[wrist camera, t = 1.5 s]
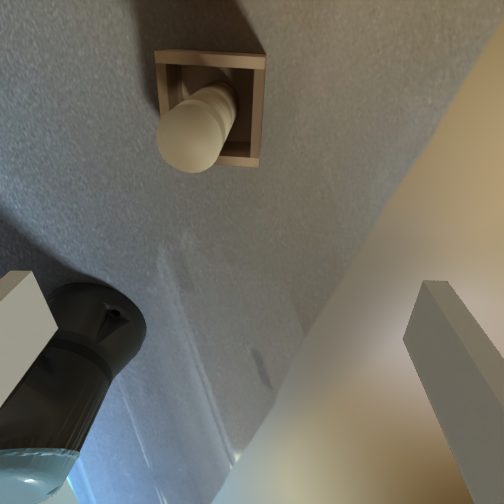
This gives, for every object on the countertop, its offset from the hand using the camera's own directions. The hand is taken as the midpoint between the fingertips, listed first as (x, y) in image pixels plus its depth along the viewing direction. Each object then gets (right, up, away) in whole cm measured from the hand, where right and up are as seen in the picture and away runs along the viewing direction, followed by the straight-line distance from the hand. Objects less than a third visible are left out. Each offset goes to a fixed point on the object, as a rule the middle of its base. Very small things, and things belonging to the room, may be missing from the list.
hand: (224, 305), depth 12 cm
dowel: (-2, +16, +21) cm, 26 cm away
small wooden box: (-2, +17, +21) cm, 27 cm away
